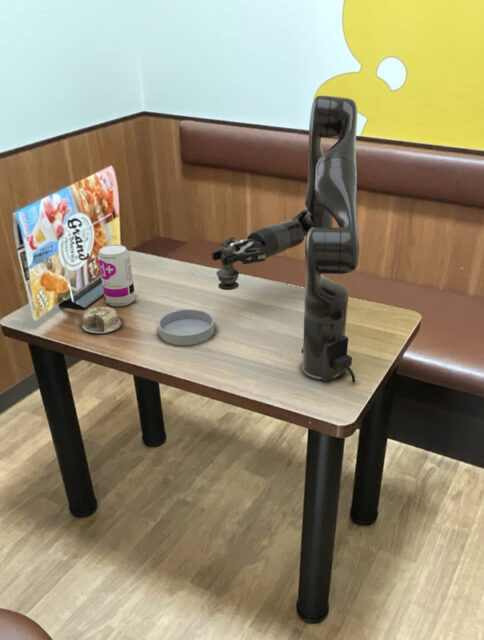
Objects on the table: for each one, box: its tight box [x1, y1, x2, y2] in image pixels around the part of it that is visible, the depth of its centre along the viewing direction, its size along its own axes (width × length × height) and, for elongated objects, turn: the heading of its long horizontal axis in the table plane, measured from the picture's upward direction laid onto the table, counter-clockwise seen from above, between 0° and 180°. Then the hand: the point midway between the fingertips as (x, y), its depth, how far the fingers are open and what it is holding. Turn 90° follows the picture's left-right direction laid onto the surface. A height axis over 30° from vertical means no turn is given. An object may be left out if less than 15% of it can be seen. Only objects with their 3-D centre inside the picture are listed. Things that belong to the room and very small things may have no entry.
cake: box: [81, 306, 122, 334], centre depth 155 cm, size 10×10×5 cm
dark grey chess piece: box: [215, 240, 240, 291], centre depth 153 cm, size 6×6×12 cm
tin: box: [157, 308, 215, 346], centre depth 153 cm, size 14×14×3 cm
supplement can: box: [97, 244, 136, 308], centre depth 164 cm, size 8×8×15 cm
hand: (218, 259), depth 151 cm, fingers closed on dark grey chess piece, 3 cm apart
